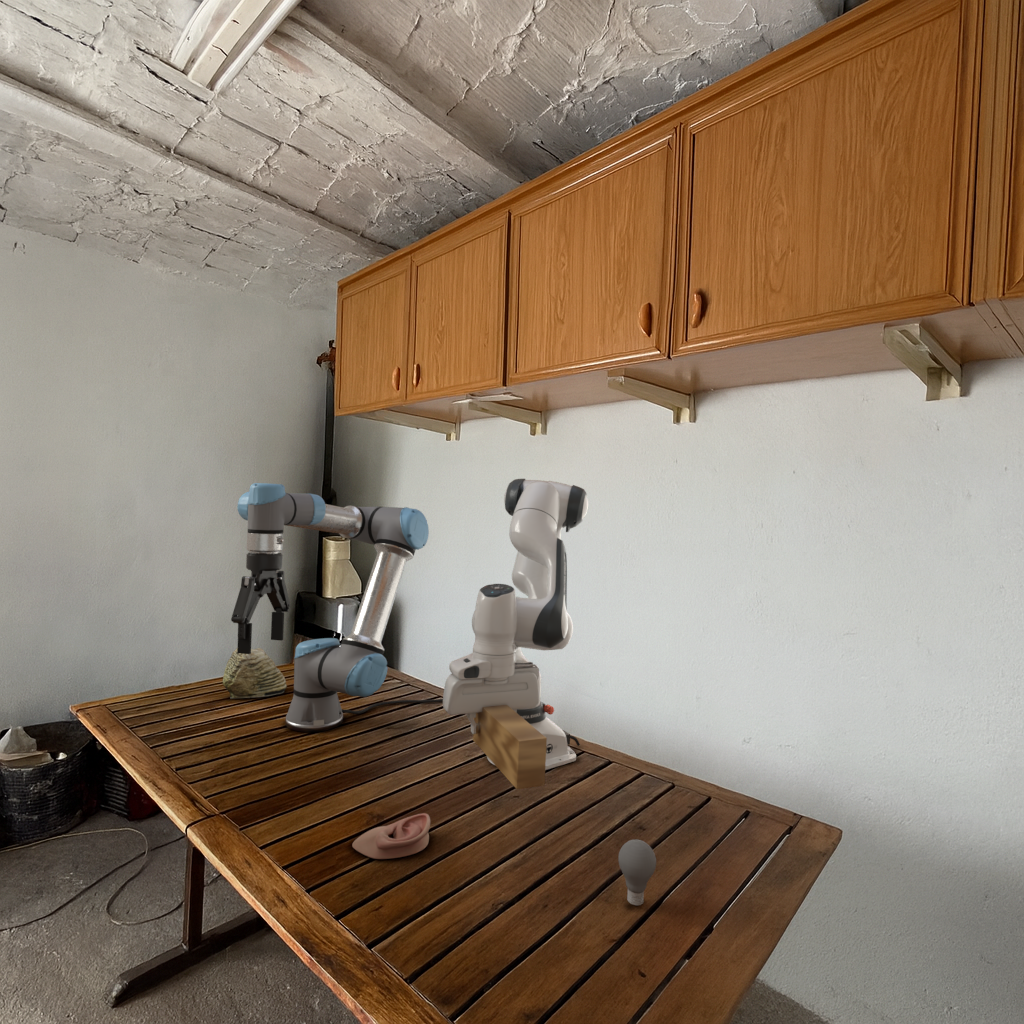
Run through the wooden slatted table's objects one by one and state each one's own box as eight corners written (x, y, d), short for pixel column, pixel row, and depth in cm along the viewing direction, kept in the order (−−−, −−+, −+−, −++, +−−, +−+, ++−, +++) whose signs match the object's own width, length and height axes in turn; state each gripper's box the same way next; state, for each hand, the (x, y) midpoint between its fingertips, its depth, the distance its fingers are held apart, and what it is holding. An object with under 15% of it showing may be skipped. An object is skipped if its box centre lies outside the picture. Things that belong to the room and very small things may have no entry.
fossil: (218, 695, 195) (220, 647, 195) (278, 685, 208) (279, 640, 207) (228, 703, 189) (230, 653, 188) (289, 692, 201) (290, 645, 201)
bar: (544, 785, 112) (546, 737, 112) (516, 789, 110) (519, 741, 110) (496, 737, 134) (498, 697, 134) (472, 740, 132) (474, 699, 132)
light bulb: (612, 891, 105) (615, 832, 105) (647, 891, 106) (650, 832, 105) (621, 915, 99) (624, 852, 99) (659, 914, 100) (662, 852, 99)
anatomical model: (345, 832, 112) (372, 802, 124) (344, 854, 113) (371, 822, 124) (415, 843, 110) (436, 812, 121) (414, 866, 110) (436, 832, 121)
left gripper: (249, 557, 129) (245, 661, 129) (306, 549, 154) (303, 636, 154) (215, 555, 130) (211, 658, 130) (277, 547, 155) (274, 633, 155)
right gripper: (533, 657, 137) (530, 721, 137) (441, 663, 129) (439, 730, 129) (545, 665, 131) (542, 731, 131) (451, 671, 123) (448, 742, 123)
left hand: (261, 646), depth 142 cm, fingers open, 13 cm apart
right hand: (490, 731), depth 130 cm, fingers closed on bar, 5 cm apart
